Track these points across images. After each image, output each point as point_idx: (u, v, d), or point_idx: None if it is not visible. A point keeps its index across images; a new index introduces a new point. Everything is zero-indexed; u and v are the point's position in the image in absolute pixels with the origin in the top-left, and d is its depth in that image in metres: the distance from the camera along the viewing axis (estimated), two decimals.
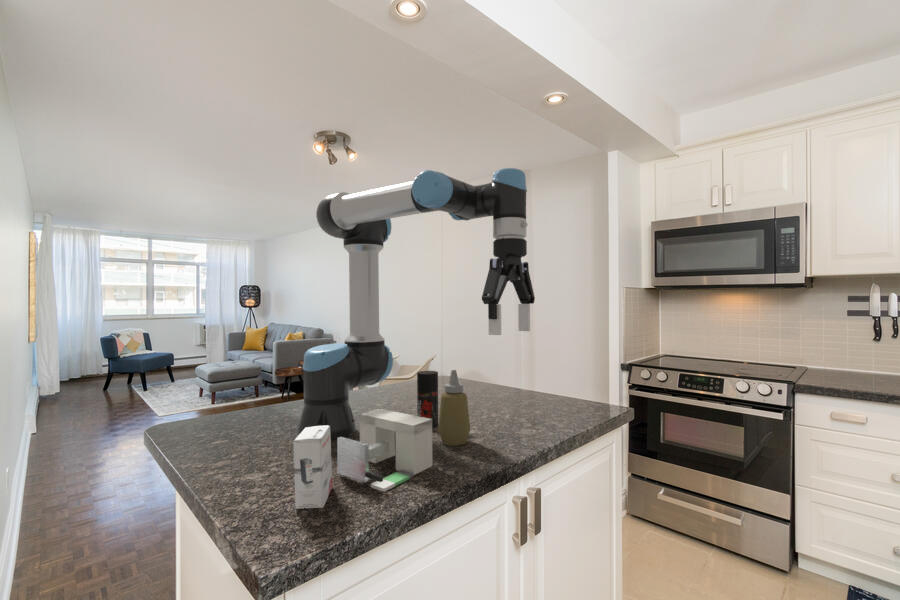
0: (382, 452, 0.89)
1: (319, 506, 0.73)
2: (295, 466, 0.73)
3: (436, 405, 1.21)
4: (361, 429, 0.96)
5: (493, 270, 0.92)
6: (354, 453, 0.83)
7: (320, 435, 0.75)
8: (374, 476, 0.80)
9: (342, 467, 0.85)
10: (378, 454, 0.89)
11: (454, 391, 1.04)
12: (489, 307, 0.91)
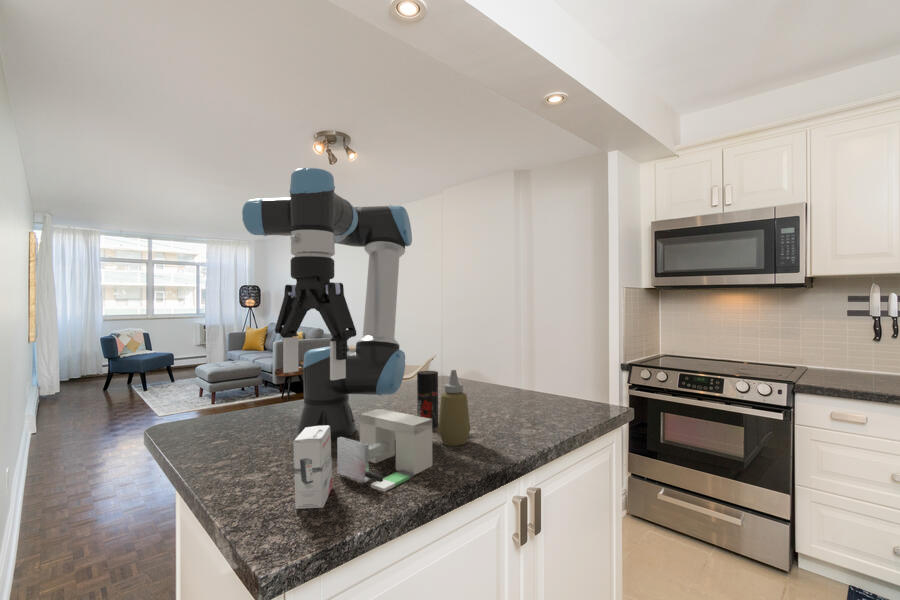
0: (382, 452, 0.89)
1: (319, 506, 0.73)
2: (295, 466, 0.73)
3: (436, 405, 1.21)
4: (361, 429, 0.96)
5: None
6: (354, 453, 0.83)
7: (320, 435, 0.75)
8: (374, 476, 0.80)
9: (342, 467, 0.85)
10: (378, 454, 0.89)
11: (454, 391, 1.04)
12: None
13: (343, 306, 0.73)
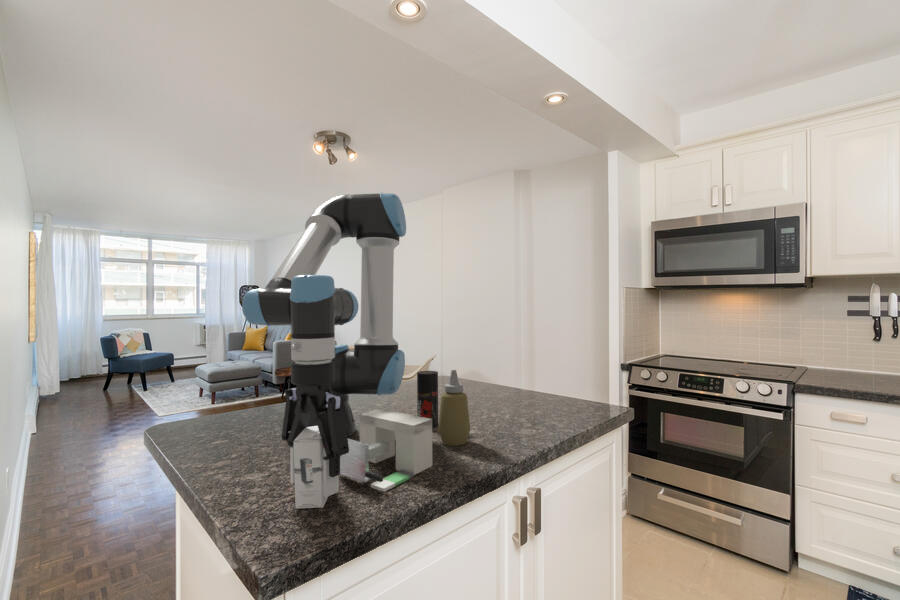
0: (382, 452, 0.89)
1: (319, 506, 0.73)
2: (295, 466, 0.73)
3: (436, 405, 1.21)
4: (361, 429, 0.96)
5: None
6: (354, 453, 0.83)
7: (320, 435, 0.75)
8: (374, 476, 0.80)
9: (342, 467, 0.85)
10: (378, 454, 0.89)
11: (454, 391, 1.05)
12: None
13: (340, 422, 0.73)
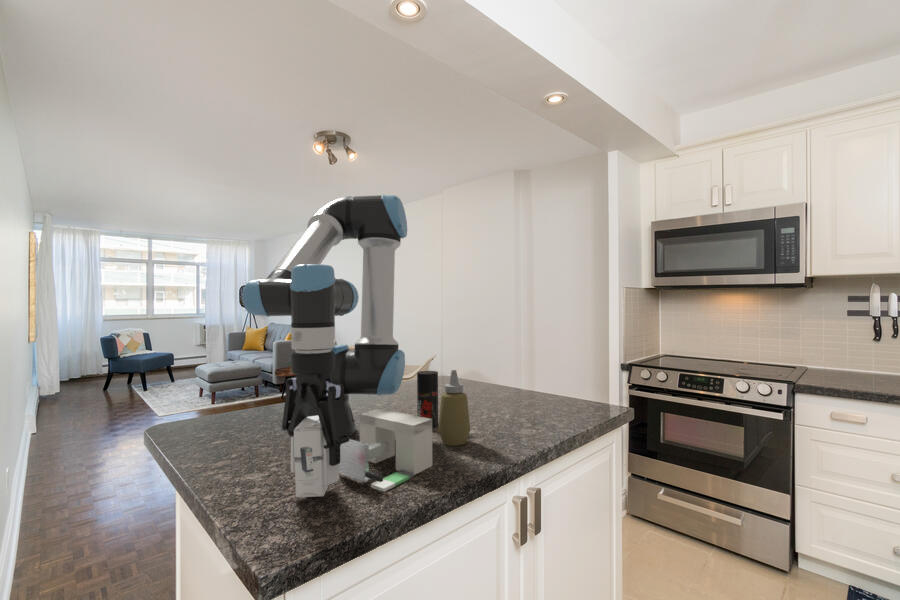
0: (382, 452, 0.89)
1: (319, 494, 0.73)
2: (295, 454, 0.73)
3: (436, 405, 1.21)
4: (361, 429, 0.96)
5: None
6: (354, 453, 0.83)
7: (320, 424, 0.75)
8: (374, 476, 0.80)
9: (342, 467, 0.85)
10: (378, 454, 0.89)
11: (454, 391, 1.04)
12: None
13: (340, 411, 0.73)
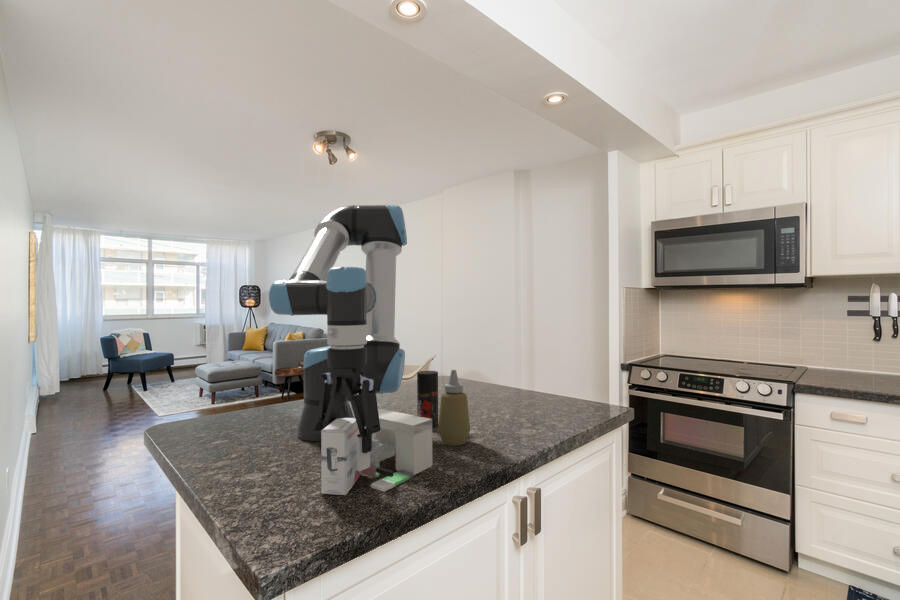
0: (391, 448, 0.92)
1: (342, 493, 0.78)
2: (322, 454, 0.78)
3: (436, 405, 1.21)
4: None
5: None
6: None
7: (346, 427, 0.80)
8: (385, 471, 0.83)
9: None
10: (388, 450, 0.91)
11: (454, 391, 1.05)
12: None
13: (373, 403, 0.80)
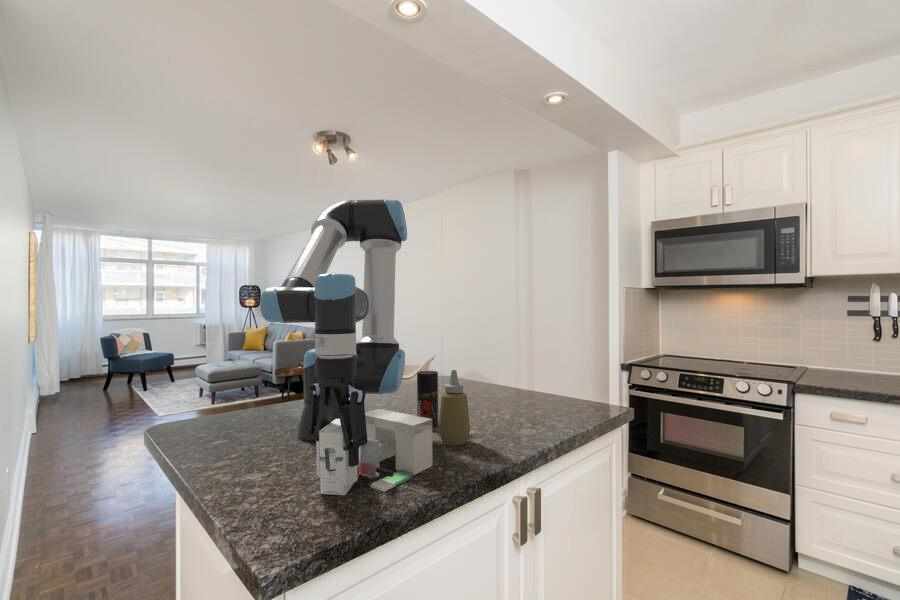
0: (391, 448, 0.92)
1: (341, 493, 0.78)
2: (320, 454, 0.78)
3: (436, 405, 1.21)
4: None
5: None
6: (365, 449, 0.85)
7: None
8: (385, 471, 0.83)
9: None
10: (388, 450, 0.91)
11: (454, 391, 1.05)
12: None
13: (361, 415, 0.77)
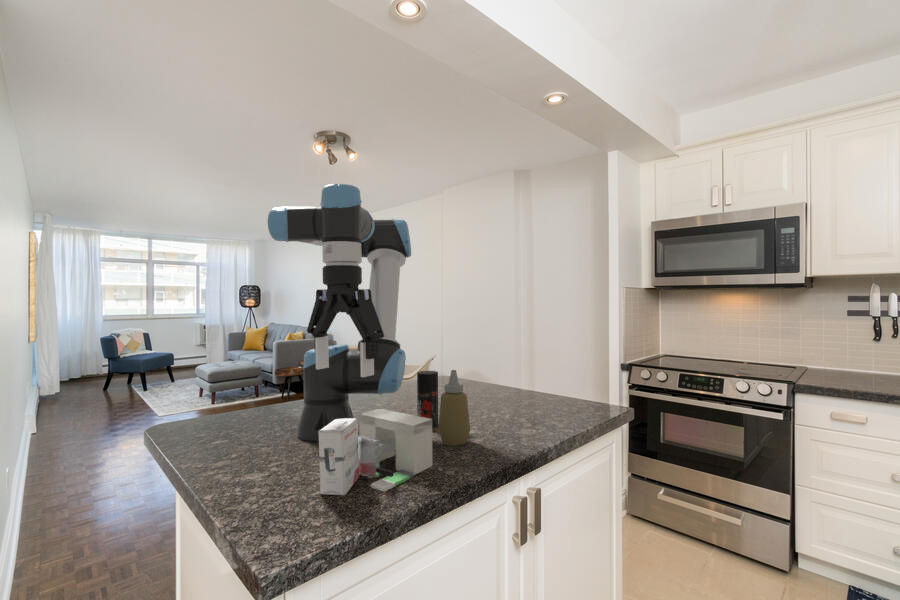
0: (391, 448, 0.92)
1: (341, 493, 0.78)
2: (320, 454, 0.78)
3: (436, 405, 1.21)
4: (361, 429, 0.96)
5: None
6: (365, 449, 0.85)
7: (343, 427, 0.80)
8: (385, 471, 0.83)
9: None
10: (388, 450, 0.91)
11: (454, 391, 1.04)
12: None
13: (371, 311, 0.81)
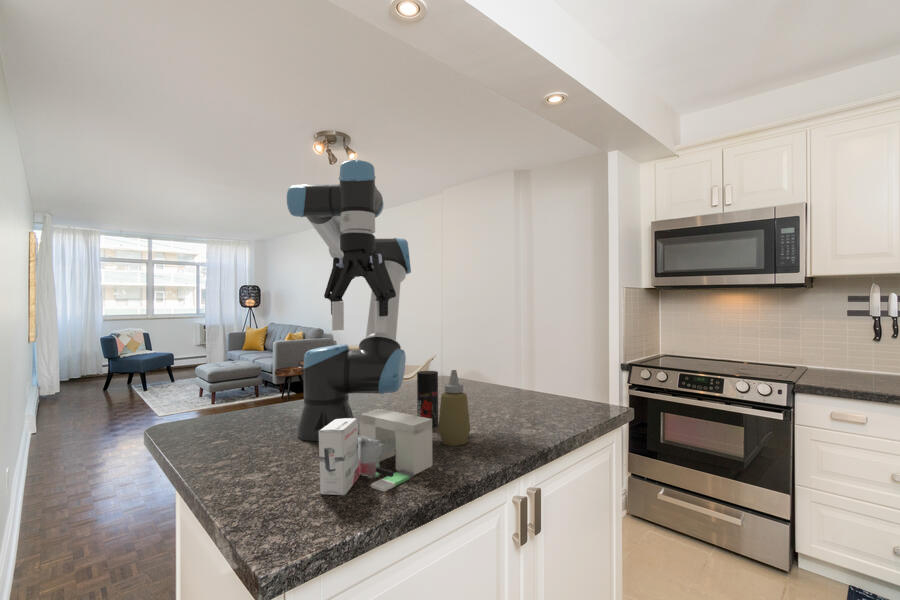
0: (391, 448, 0.92)
1: (341, 493, 0.78)
2: (320, 454, 0.78)
3: (436, 405, 1.21)
4: (361, 429, 0.96)
5: None
6: (365, 449, 0.85)
7: (343, 427, 0.80)
8: (385, 471, 0.83)
9: None
10: (388, 450, 0.91)
11: (454, 391, 1.05)
12: None
13: (385, 273, 0.89)
